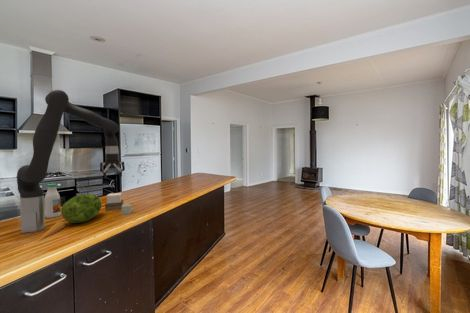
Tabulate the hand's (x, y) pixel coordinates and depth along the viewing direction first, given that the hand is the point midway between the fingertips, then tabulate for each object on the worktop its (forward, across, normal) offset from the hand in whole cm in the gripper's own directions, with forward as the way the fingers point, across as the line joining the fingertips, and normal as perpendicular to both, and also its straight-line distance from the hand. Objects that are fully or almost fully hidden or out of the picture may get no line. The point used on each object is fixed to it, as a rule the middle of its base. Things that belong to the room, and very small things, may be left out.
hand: (112, 177), depth 155 cm
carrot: (+22, -25, -34) cm, 48 cm away
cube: (+22, +8, -6) cm, 25 cm away
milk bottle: (+22, -34, +2) cm, 41 cm away
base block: (+23, -1, +10) cm, 25 cm away
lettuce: (+22, -13, -14) cm, 29 cm away
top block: (+18, -1, +10) cm, 20 cm away
